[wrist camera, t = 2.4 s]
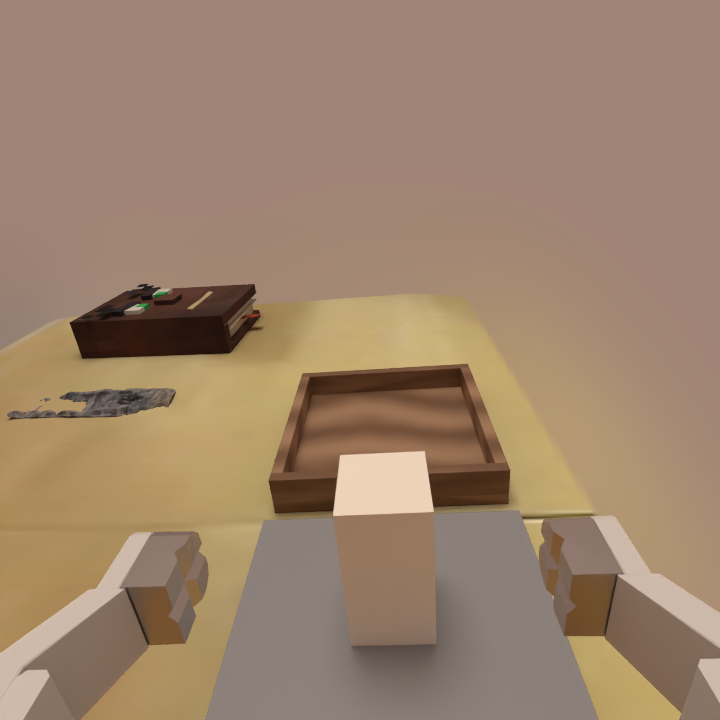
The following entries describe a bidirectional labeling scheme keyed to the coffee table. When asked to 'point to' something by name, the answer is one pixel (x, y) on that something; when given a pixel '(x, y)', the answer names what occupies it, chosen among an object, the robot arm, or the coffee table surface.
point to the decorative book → (167, 322)
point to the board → (400, 662)
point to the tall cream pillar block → (386, 548)
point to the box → (389, 434)
